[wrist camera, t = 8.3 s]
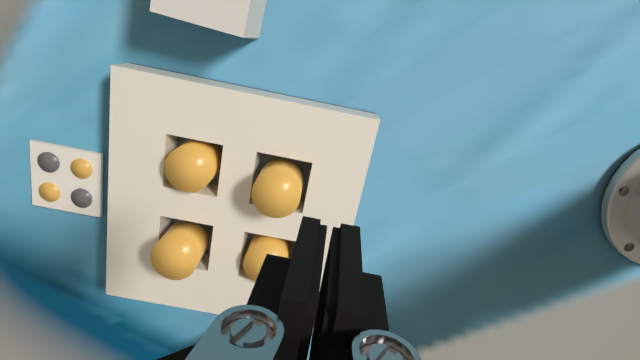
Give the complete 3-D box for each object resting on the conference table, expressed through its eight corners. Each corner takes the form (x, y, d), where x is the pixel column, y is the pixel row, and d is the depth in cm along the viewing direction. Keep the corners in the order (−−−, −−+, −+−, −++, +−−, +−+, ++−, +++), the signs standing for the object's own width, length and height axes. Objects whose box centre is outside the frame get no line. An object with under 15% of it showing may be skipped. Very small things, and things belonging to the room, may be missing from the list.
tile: (103, 153, 34) (100, 154, 33) (102, 215, 36) (99, 218, 35) (32, 139, 34) (28, 140, 33) (35, 203, 36) (31, 205, 35)
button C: (225, 141, 33) (213, 152, 30) (220, 181, 34) (208, 196, 31) (181, 133, 33) (165, 143, 29) (178, 173, 34) (162, 187, 31)
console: (375, 113, 32) (380, 120, 29) (326, 312, 39) (326, 333, 36) (130, 62, 31) (110, 64, 29) (122, 275, 38) (105, 294, 35)
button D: (210, 225, 34) (198, 244, 30) (206, 261, 35) (194, 283, 32) (168, 217, 33) (151, 235, 30) (165, 253, 35) (148, 275, 31)
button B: (293, 231, 35) (290, 250, 32) (286, 266, 37) (282, 287, 33) (253, 224, 35) (246, 242, 32) (248, 258, 36) (240, 280, 33)
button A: (307, 163, 32) (304, 177, 28) (298, 204, 33) (295, 222, 30) (262, 154, 31) (255, 167, 28) (256, 196, 33) (248, 213, 29)
